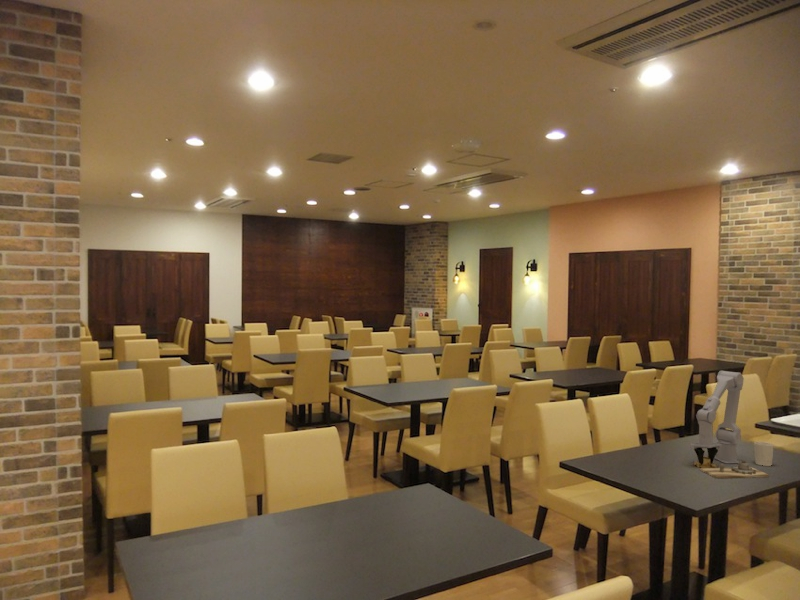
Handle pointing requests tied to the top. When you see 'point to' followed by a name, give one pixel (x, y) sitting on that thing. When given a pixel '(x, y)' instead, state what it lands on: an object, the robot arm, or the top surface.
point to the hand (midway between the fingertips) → (705, 463)
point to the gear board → (735, 471)
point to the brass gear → (706, 463)
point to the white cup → (763, 453)
